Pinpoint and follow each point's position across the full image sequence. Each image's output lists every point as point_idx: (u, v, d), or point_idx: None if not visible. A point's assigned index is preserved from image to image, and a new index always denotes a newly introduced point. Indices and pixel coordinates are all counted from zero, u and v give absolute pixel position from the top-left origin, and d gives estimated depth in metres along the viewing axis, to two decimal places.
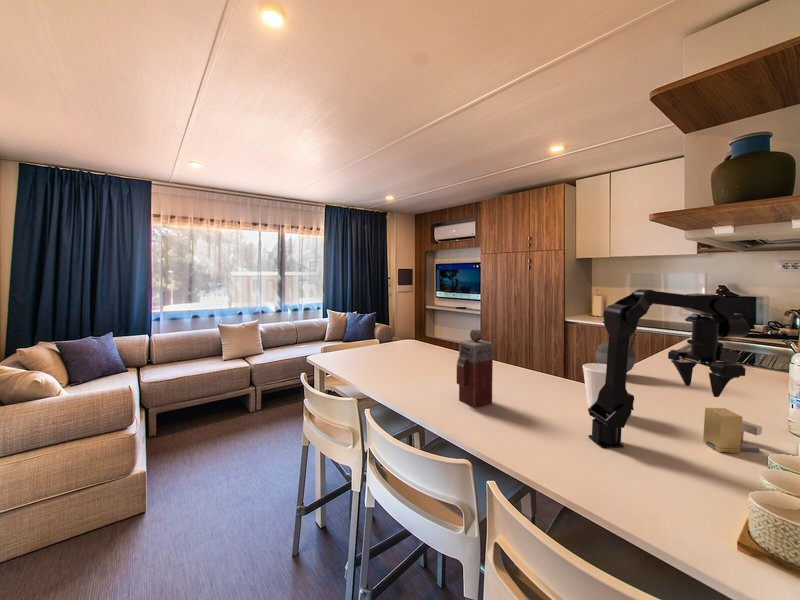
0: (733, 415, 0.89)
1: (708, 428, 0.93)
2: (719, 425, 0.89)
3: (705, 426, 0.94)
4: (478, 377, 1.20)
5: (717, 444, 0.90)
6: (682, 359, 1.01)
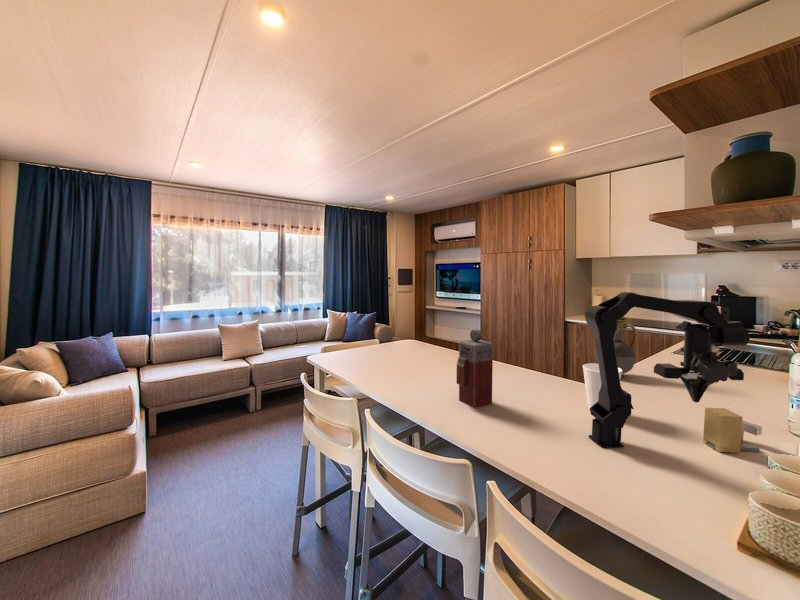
0: (733, 415, 0.89)
1: (708, 428, 0.93)
2: (719, 425, 0.89)
3: (705, 426, 0.94)
4: (478, 377, 1.20)
5: (717, 444, 0.90)
6: None
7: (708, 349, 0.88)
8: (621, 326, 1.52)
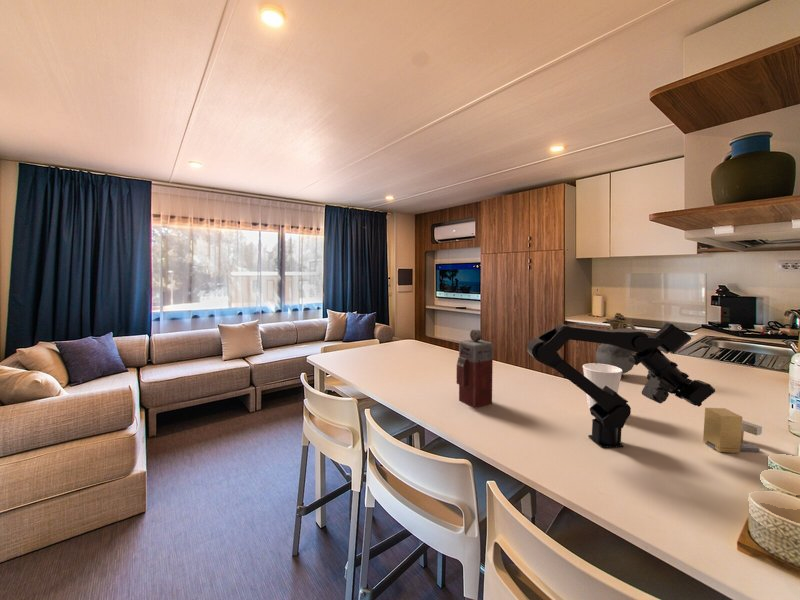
0: (733, 415, 0.89)
1: (708, 428, 0.93)
2: (719, 425, 0.89)
3: (705, 426, 0.94)
4: (478, 377, 1.20)
5: (717, 444, 0.90)
6: None
7: (652, 372, 0.92)
8: (621, 326, 1.52)
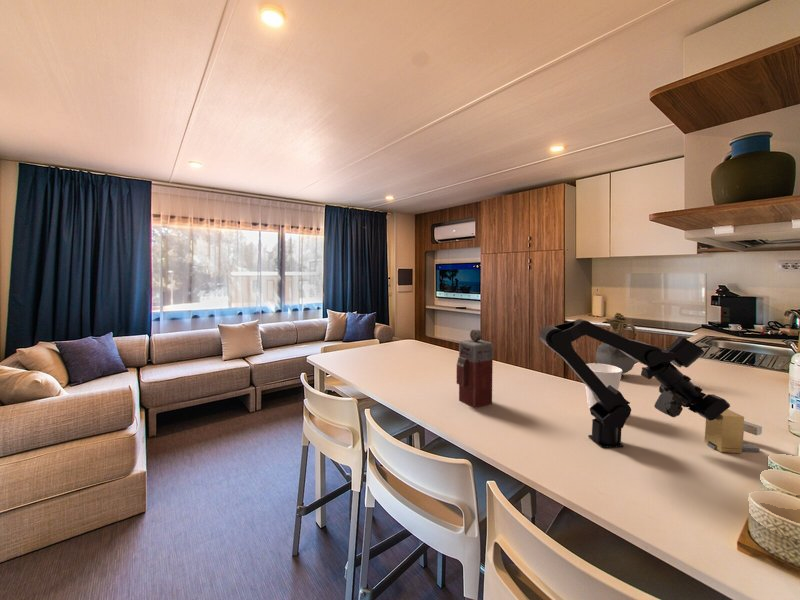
0: (735, 415, 0.89)
1: (709, 428, 0.93)
2: (720, 425, 0.89)
3: (706, 426, 0.94)
4: (478, 377, 1.20)
5: (719, 444, 0.90)
6: None
7: (665, 386, 0.92)
8: (621, 326, 1.52)
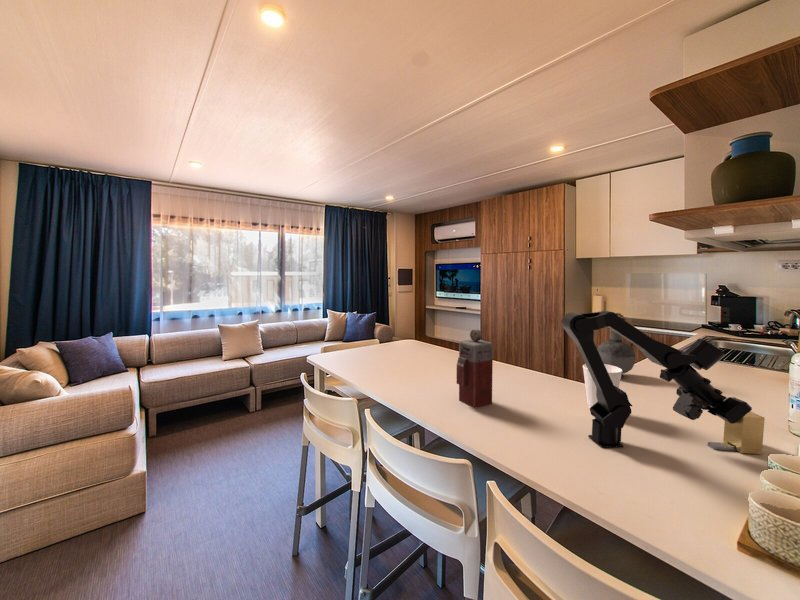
0: (755, 416, 0.88)
1: (729, 429, 0.92)
2: (740, 426, 0.89)
3: (725, 426, 0.94)
4: (478, 377, 1.20)
5: (738, 445, 0.89)
6: None
7: (684, 388, 0.91)
8: None
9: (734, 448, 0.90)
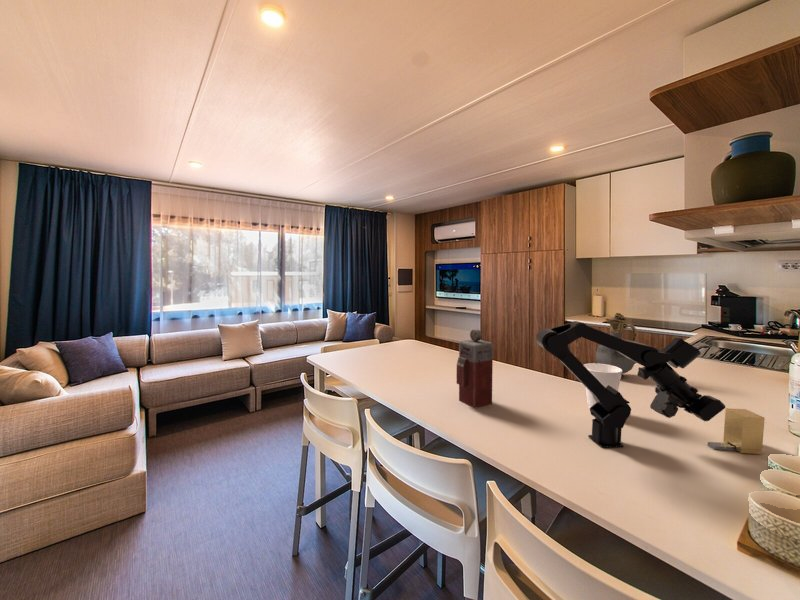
0: (755, 416, 0.88)
1: (729, 429, 0.92)
2: (740, 426, 0.89)
3: (725, 426, 0.94)
4: (478, 377, 1.20)
5: (738, 445, 0.89)
6: None
7: (661, 386, 0.92)
8: (621, 326, 1.52)
9: (734, 448, 0.90)
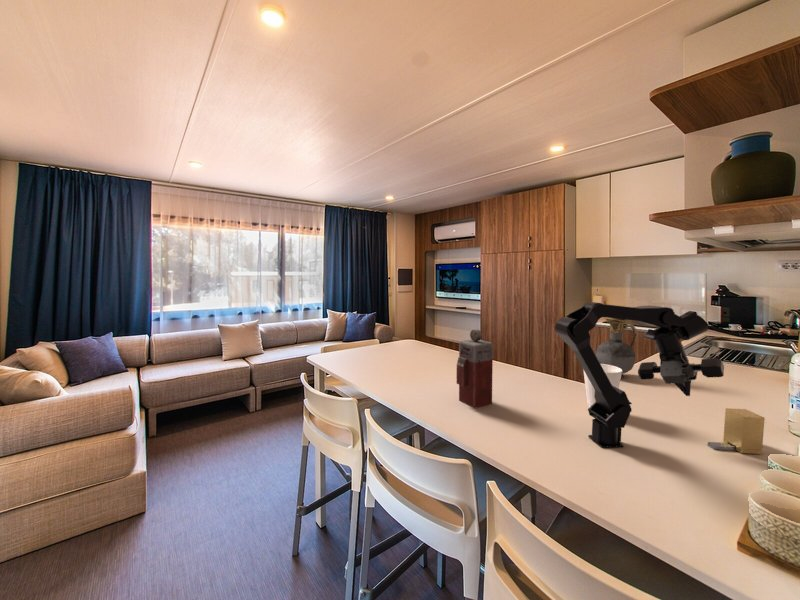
0: (755, 416, 0.88)
1: (729, 429, 0.92)
2: (740, 426, 0.89)
3: (725, 426, 0.94)
4: (478, 377, 1.20)
5: (738, 445, 0.89)
6: None
7: (671, 351, 0.92)
8: (621, 326, 1.52)
9: (734, 448, 0.90)
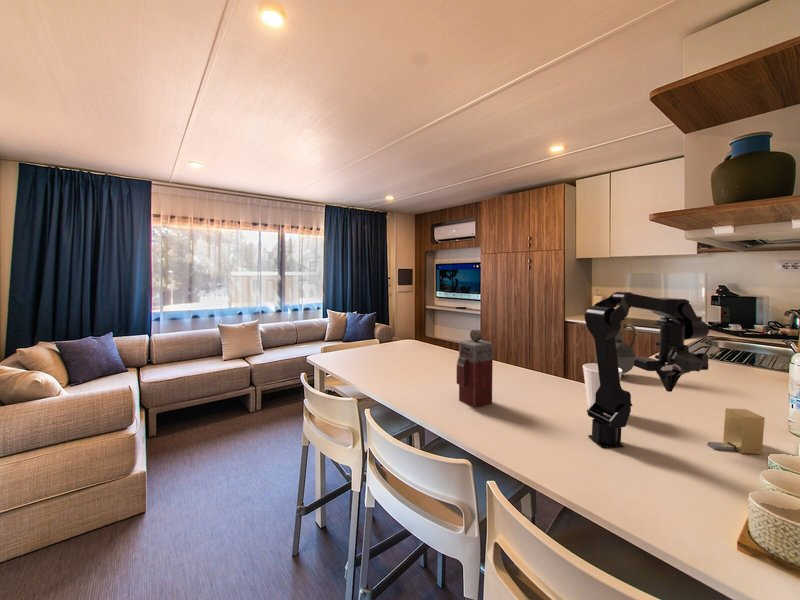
0: (755, 416, 0.88)
1: (729, 429, 0.92)
2: (740, 426, 0.89)
3: (725, 426, 0.94)
4: (478, 377, 1.20)
5: (738, 445, 0.89)
6: None
7: (681, 342, 0.96)
8: (621, 326, 1.52)
9: (734, 448, 0.90)
